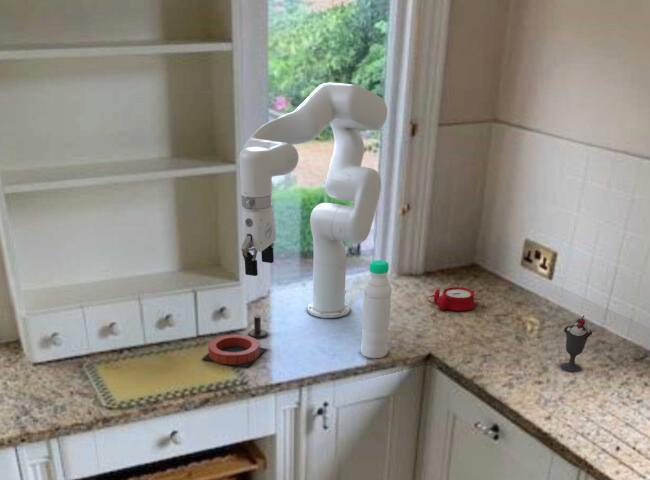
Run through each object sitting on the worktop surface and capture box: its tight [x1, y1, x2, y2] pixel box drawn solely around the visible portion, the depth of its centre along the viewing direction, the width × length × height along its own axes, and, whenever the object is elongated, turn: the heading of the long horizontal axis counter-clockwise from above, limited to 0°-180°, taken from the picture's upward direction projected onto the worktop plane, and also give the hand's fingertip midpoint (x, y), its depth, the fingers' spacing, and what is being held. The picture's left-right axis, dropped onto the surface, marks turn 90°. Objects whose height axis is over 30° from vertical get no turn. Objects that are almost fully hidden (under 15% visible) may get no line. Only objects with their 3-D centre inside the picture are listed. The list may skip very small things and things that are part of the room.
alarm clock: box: [426, 286, 482, 312], centre depth 240 cm, size 10×6×15 cm
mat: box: [202, 346, 267, 369], centre depth 213 cm, size 12×13×1 cm
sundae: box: [560, 314, 593, 373], centre depth 200 cm, size 7×7×15 cm
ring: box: [208, 334, 260, 365], centre depth 212 cm, size 13×13×3 cm
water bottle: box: [360, 259, 393, 359], centre depth 206 cm, size 7×7×25 cm
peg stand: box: [248, 314, 267, 339], centre depth 223 cm, size 5×5×6 cm
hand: (259, 268), depth 205 cm, fingers open, 9 cm apart
